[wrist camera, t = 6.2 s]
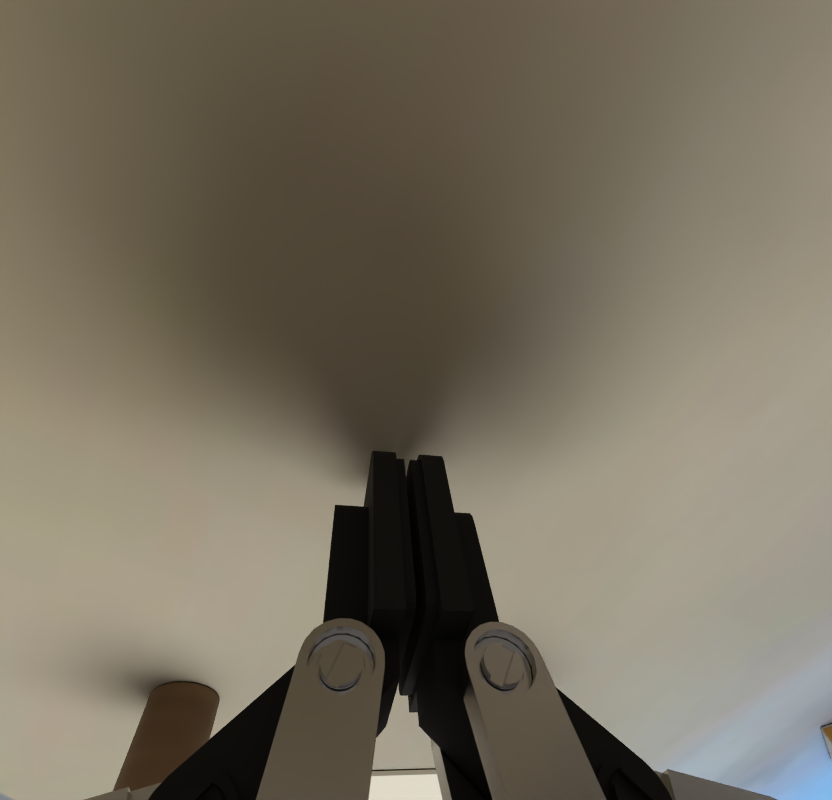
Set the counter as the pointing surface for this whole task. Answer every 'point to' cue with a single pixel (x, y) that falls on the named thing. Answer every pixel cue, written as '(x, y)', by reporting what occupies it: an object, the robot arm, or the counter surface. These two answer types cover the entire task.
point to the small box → (828, 737)
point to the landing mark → (405, 785)
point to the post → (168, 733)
